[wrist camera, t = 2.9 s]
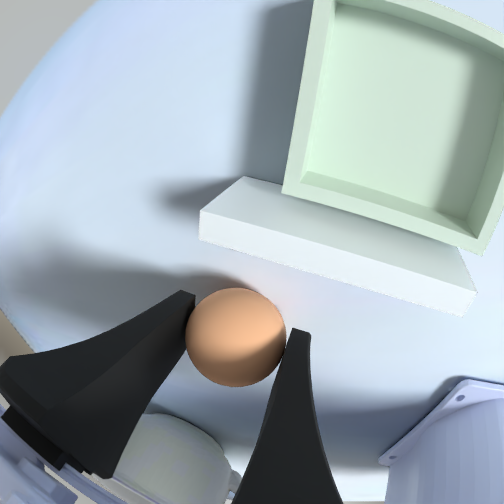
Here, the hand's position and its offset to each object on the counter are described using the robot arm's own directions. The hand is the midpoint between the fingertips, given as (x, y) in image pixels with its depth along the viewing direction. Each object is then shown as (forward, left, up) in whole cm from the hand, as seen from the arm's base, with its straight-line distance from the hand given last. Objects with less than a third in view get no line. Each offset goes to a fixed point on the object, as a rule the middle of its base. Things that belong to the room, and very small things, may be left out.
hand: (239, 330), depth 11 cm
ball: (0, 0, 0) cm, 0 cm away
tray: (+8, -3, -1) cm, 9 cm away
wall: (+5, -2, -1) cm, 6 cm away
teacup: (-16, +2, -2) cm, 17 cm away
